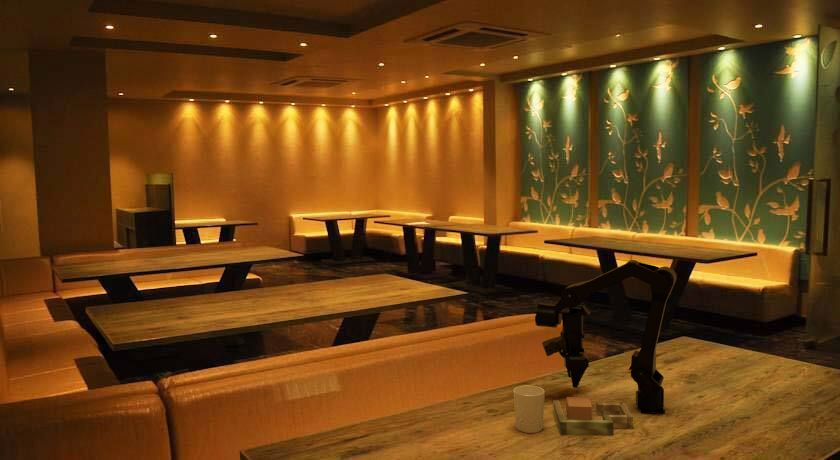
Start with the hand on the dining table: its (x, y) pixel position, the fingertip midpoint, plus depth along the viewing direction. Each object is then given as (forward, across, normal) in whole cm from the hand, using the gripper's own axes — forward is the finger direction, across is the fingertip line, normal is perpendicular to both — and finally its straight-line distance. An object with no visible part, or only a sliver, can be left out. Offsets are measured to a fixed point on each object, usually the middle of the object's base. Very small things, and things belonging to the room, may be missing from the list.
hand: (572, 382), depth 191 cm
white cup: (+5, +22, -14) cm, 27 cm away
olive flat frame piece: (+5, +18, +3) cm, 19 cm away
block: (+5, +13, 0) cm, 14 cm away
